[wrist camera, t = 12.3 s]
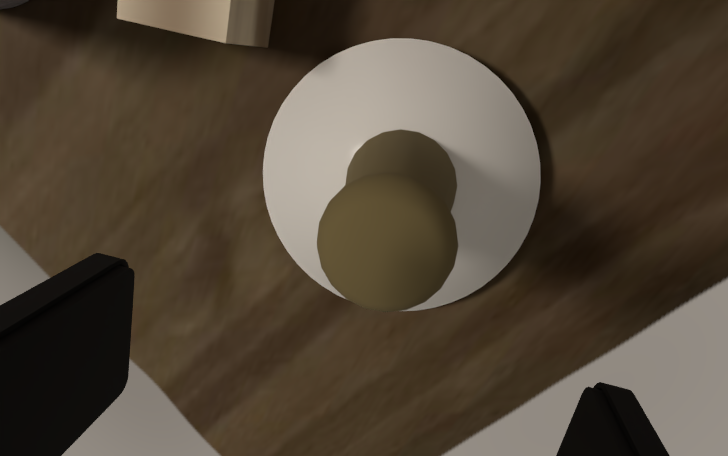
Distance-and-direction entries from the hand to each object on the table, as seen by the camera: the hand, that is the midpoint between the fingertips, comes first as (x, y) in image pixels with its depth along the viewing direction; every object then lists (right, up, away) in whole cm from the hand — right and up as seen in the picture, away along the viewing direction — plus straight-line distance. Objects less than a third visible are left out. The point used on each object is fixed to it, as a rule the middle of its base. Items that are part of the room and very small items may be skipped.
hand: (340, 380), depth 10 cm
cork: (+2, +5, +18) cm, 19 cm away
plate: (+2, +6, +19) cm, 20 cm away
